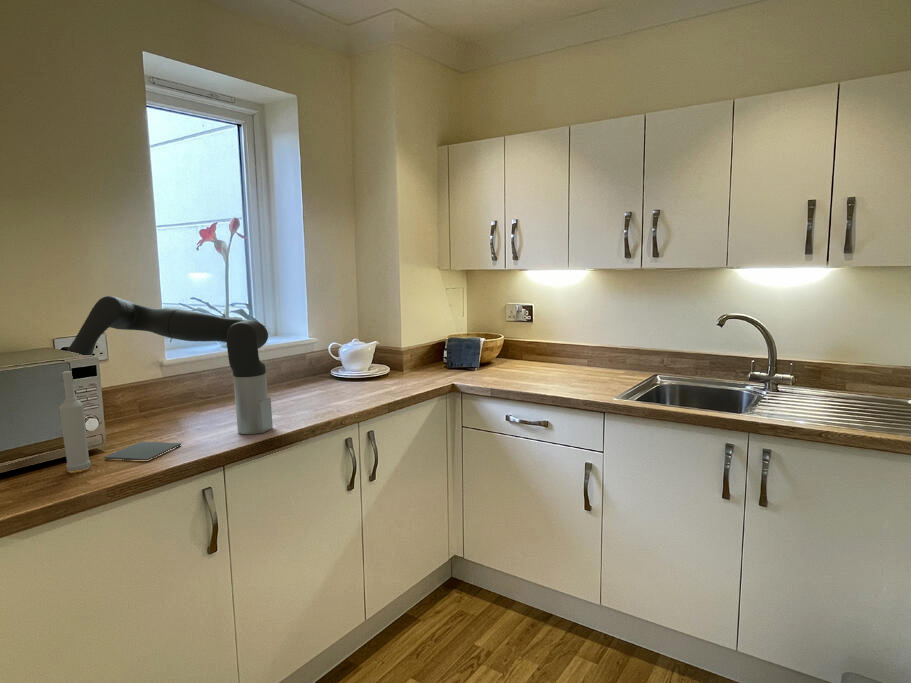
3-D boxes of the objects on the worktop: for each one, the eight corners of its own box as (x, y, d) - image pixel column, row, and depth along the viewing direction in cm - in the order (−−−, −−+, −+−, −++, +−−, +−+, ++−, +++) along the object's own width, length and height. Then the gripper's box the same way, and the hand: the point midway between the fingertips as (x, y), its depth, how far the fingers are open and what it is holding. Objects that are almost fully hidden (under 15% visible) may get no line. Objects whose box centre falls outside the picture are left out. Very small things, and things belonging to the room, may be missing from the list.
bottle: (95, 465, 147) (84, 369, 143) (83, 473, 142) (71, 373, 138) (75, 466, 147) (62, 370, 143) (61, 474, 141) (49, 374, 138)
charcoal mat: (181, 446, 161) (181, 443, 161) (147, 462, 148) (147, 459, 148) (141, 444, 164) (140, 441, 164) (104, 459, 151) (104, 456, 151)
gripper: (22, 395, 155) (31, 404, 143) (84, 386, 165) (97, 394, 153) (26, 422, 156) (35, 434, 144) (87, 411, 166) (100, 422, 154)
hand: (66, 413), depth 149 cm, fingers open, 8 cm apart
